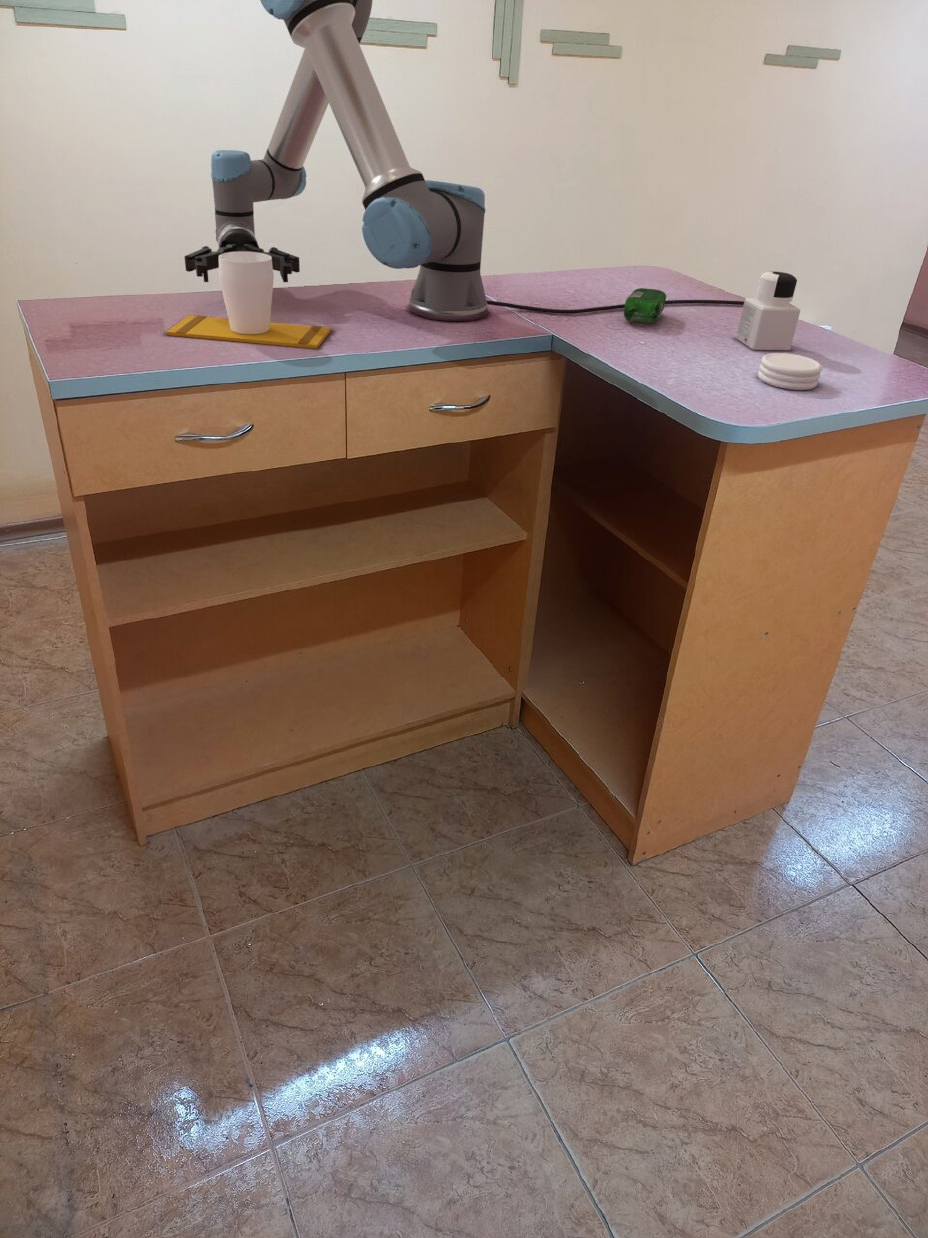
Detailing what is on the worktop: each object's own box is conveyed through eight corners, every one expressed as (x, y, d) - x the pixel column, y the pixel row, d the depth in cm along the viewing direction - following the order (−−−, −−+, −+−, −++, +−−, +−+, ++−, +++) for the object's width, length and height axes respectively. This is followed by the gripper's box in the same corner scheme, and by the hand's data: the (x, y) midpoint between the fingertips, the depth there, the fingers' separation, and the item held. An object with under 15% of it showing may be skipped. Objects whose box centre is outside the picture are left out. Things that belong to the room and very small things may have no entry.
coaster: (814, 395, 147) (820, 374, 145) (752, 383, 150) (758, 363, 148) (819, 378, 155) (825, 358, 153) (761, 368, 158) (766, 348, 156)
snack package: (618, 326, 176) (622, 299, 173) (631, 307, 188) (636, 282, 185) (653, 332, 174) (659, 304, 171) (665, 313, 187) (670, 287, 184)
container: (772, 339, 175) (789, 269, 168) (790, 350, 169) (809, 278, 162) (735, 338, 174) (751, 268, 166) (752, 350, 167) (769, 277, 160)
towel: (330, 331, 161) (330, 327, 160) (316, 348, 151) (316, 344, 151) (188, 318, 162) (188, 314, 161) (166, 335, 153) (165, 330, 152)
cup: (270, 338, 153) (266, 264, 146) (217, 334, 152) (211, 260, 146) (280, 324, 160) (277, 253, 154) (230, 320, 160) (224, 249, 153)
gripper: (304, 268, 178) (318, 296, 161) (173, 268, 172) (173, 296, 155) (303, 228, 174) (317, 252, 157) (169, 226, 168) (168, 250, 151)
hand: (245, 274), depth 156 cm, fingers open, 13 cm apart
